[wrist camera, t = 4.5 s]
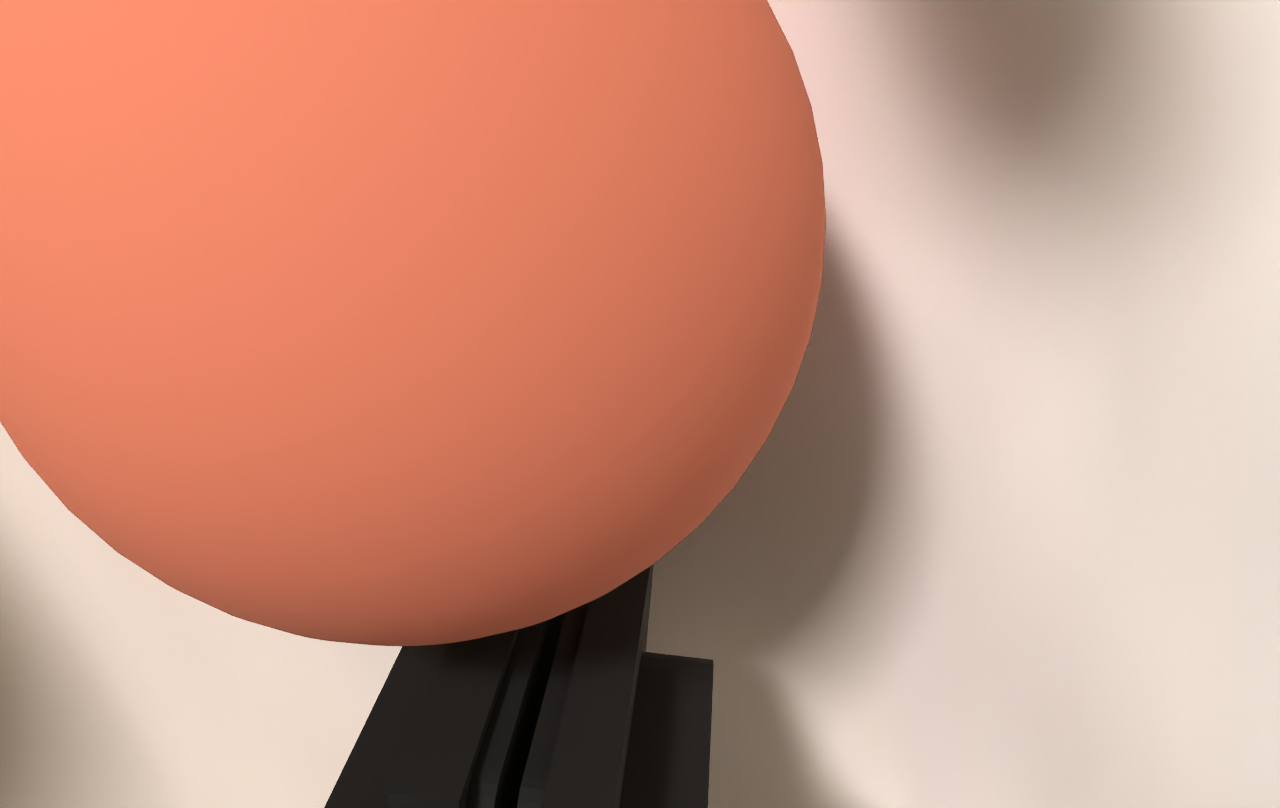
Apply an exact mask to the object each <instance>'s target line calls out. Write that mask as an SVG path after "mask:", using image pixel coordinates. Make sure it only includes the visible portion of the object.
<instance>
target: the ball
mask: <svg viewBox="0 0 1280 808" xmlns="http://www.w3.org/2000/svg"><path fill="white" fill-rule="evenodd" d="M825 230H826V215H825V198H824V182H823V165H822V158H821V153H820V148H819V143H818V138H817V133H816V128H815V123H814V118H813V112H812V107H811V104H810V101H809V98H808V95H807V92H806V89H805V86H804V83H803V80H802V77H801V74H800V72H799V69H798V66H797V63H796V60H795V57H794V54H793V51H792V49H791V47H790V45H789V43H788V41H787V39H786V37H785V35H784V33H783V31H782V29H781V27H780V25H779V23H778V21H777V19H776V17H775V15H774V13H773V11H772V9H771V7H770V5H769V3H768V1H767V0H0V422H1V423H2V425H3V426H4V428H5V430H6V431H7V433H8V434H9V436H10V437H11V439H12V440H13V442H14V444H15V445H16V447H17V448H18V450H19V451H20V453H21V455H22V456H23V457H24V459H25V460H26V461H27V462H28V463H29V465H30V466H31V467H32V468H33V469H34V470H35V471H36V473H37V474H38V475H39V476H40V477H41V478H42V480H43V481H44V482H45V483H46V484H47V485H48V487H49V488H50V489H51V490H52V491H53V492H54V493H55V495H56V496H57V497H58V498H59V499H60V500H61V502H62V503H63V504H64V505H65V506H66V507H67V509H68V510H69V511H71V512H72V513H73V514H74V515H75V516H76V517H77V518H79V519H80V520H81V521H82V522H83V523H84V524H86V525H87V526H88V527H89V528H90V529H91V530H92V531H94V532H95V533H96V534H97V535H98V536H99V537H100V538H102V539H103V540H104V541H105V542H106V543H107V544H108V545H110V546H111V547H112V548H113V549H114V550H115V551H117V552H118V553H119V554H121V555H123V556H124V557H126V558H127V559H129V560H130V561H132V562H133V563H135V564H136V565H138V566H140V567H141V568H143V569H144V570H146V571H147V572H149V573H150V574H152V575H153V576H155V577H156V578H158V579H160V580H161V581H163V582H164V583H166V584H167V585H169V586H171V587H173V588H175V589H176V590H178V591H180V592H182V593H184V594H187V595H189V596H191V597H193V598H195V599H197V600H200V601H202V602H204V603H206V604H208V605H210V606H213V607H215V608H217V609H219V610H221V611H223V612H226V613H228V614H230V615H232V616H235V617H238V618H241V619H244V620H247V621H250V622H254V623H257V624H261V625H264V626H268V627H271V628H275V629H278V630H282V631H285V632H289V633H292V634H296V635H300V636H304V637H308V638H314V639H320V640H327V641H336V642H346V643H357V644H368V645H381V646H422V645H436V644H446V643H454V642H461V641H467V640H472V639H478V638H482V637H486V636H491V635H495V634H500V633H504V632H509V631H513V630H517V629H521V628H525V627H528V626H532V625H535V624H538V623H541V622H544V621H546V620H549V619H552V618H554V617H556V616H558V615H561V614H563V613H565V612H568V611H570V610H572V609H575V608H577V607H579V606H581V605H584V604H586V603H588V602H591V601H593V600H595V599H597V598H599V597H601V596H603V595H605V594H607V593H609V592H610V591H612V590H613V589H615V588H616V587H618V586H620V585H621V584H623V583H624V582H626V581H628V580H629V579H631V578H632V577H634V576H636V575H637V574H639V573H640V572H642V571H644V570H645V569H647V568H648V567H650V566H651V565H653V564H654V563H655V562H657V561H658V560H659V559H661V558H662V557H663V556H664V555H665V554H667V553H668V552H669V551H670V550H671V549H672V548H674V547H675V546H676V545H677V544H678V543H680V542H681V541H682V540H683V539H684V538H685V537H687V536H688V535H689V534H690V533H691V532H693V531H694V530H695V529H696V528H697V527H698V526H699V525H700V524H701V523H702V522H703V521H704V520H705V519H706V518H707V517H708V515H709V514H710V513H711V512H712V511H713V510H714V509H715V508H716V507H717V505H718V504H719V503H720V502H721V501H722V500H723V499H724V498H725V497H726V495H727V494H728V493H729V492H730V491H731V490H732V489H733V488H734V487H735V485H736V484H737V482H738V481H739V479H740V478H741V476H742V475H743V474H744V472H745V471H746V469H747V468H748V466H749V465H750V463H751V462H752V460H753V459H754V457H755V456H756V454H757V453H758V452H759V450H760V449H761V447H762V446H763V444H764V443H765V441H766V440H767V438H768V436H769V434H770V432H771V430H772V428H773V426H774V424H775V422H776V420H777V418H778V416H779V414H780V412H781V410H782V408H783V406H784V404H785V402H786V401H787V399H788V397H789V395H790V393H791V391H792V389H793V386H794V383H795V380H796V377H797V374H798V372H799V369H800V366H801V363H802V360H803V357H804V354H805V351H806V349H807V346H808V343H809V340H810V337H811V332H812V328H813V323H814V318H815V313H816V308H817V303H818V298H819V294H820V289H821V284H822V272H823V258H824V244H825Z"/></svg>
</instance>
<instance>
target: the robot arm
mask: <svg viewBox="0 0 1280 808" xmlns="http://www.w3.org/2000/svg"><path fill="white" fill-rule="evenodd" d="M652 574H653V565H651V566H650V567H648V568H647V569H645V570H644V571H642V572H640V573H639V574H637V575H636V576H634V577H632V578H631V579H629V580H628V581H626V582H624V583H623V584H621V585H620V586H618V587H616V588H615V589H613V590H612V591H610V592H609V593H607V594H605V595H603V596H601V597H599V598H597V599H595V600H593V601H591V602H588V603H586V604H584V605H581V606H579V607H577V608H575V609H572V610H570V611H568V612H565V613H563V614H561V615H558V616H556V617H554V618H552V619H549V620H546V621H544V622H541V623H538V624H535V625H532V626H528V627H525V628H521V629H517V630H513V631H509V632H504V633H500V634H495V635H491V636H486V637H482V638H478V639H472V640H467V641H461V642H454V643H446V644H436V645H422V646H403V647H402V649H401V651H400V653H399V655H398V657H397V659H396V661H395V663H394V665H393V667H392V669H391V671H390V673H389V676H388V678H387V680H386V682H385V684H384V686H383V688H382V690H381V692H380V694H379V696H378V698H377V700H376V702H375V704H374V706H373V709H372V711H371V713H370V715H369V717H368V719H367V721H366V723H365V725H364V727H363V729H362V731H361V733H360V735H359V737H358V739H357V742H356V744H355V746H354V748H353V750H352V752H351V754H350V756H349V758H348V760H347V762H346V764H345V766H344V768H343V770H342V772H341V774H340V777H339V779H338V781H337V783H336V785H335V787H334V789H333V791H332V793H331V795H330V797H329V799H328V801H327V803H326V805H325V807H324V808H708V786H709V762H710V738H711V713H712V689H713V660H709V659H700V658H692V657H683V656H675V655H666V654H657V653H649V652H646V641H647V630H648V619H649V607H650V596H651V585H652Z"/></svg>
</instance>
